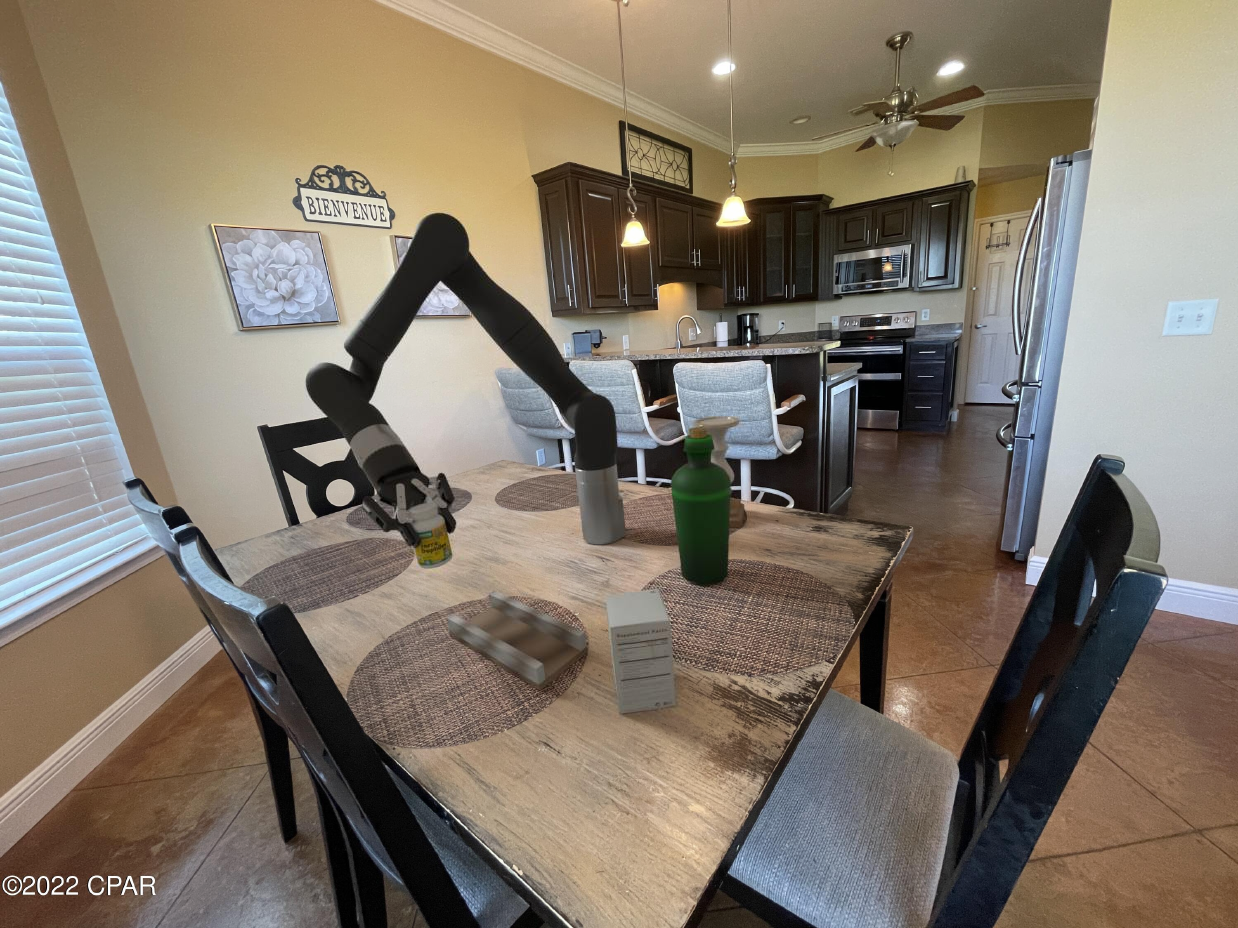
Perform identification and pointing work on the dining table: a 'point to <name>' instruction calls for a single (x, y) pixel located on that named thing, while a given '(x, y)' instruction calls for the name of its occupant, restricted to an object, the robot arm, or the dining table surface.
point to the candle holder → (723, 458)
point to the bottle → (702, 511)
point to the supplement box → (641, 650)
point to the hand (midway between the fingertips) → (435, 537)
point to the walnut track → (521, 640)
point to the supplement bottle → (430, 536)
